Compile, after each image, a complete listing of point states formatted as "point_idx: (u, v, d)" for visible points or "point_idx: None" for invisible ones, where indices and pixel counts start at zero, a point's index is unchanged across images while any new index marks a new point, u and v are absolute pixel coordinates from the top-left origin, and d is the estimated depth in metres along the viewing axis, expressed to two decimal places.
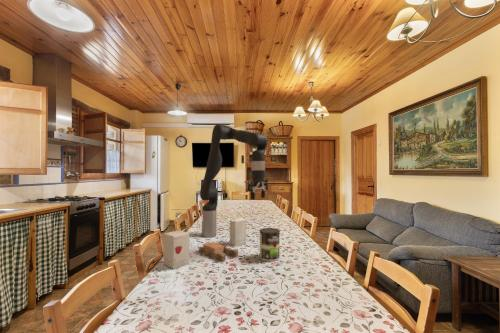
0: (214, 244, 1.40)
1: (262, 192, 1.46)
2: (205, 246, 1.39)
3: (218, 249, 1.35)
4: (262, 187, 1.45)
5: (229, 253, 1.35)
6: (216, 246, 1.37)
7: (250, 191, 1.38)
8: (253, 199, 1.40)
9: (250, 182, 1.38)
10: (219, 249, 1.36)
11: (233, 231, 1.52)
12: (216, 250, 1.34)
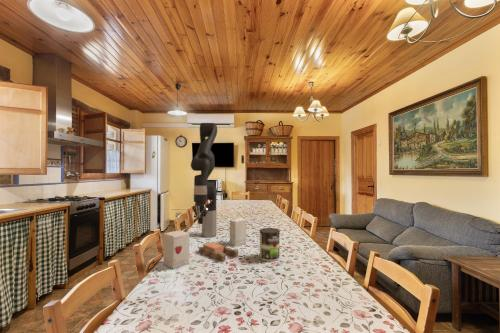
0: (214, 244, 1.40)
1: None
2: (205, 246, 1.39)
3: (218, 249, 1.35)
4: None
5: (229, 253, 1.35)
6: (216, 246, 1.37)
7: (204, 216, 1.46)
8: (202, 223, 1.48)
9: (207, 210, 1.44)
10: (219, 249, 1.36)
11: (233, 231, 1.52)
12: (216, 250, 1.34)
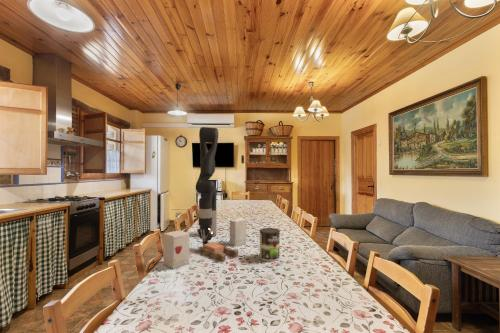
0: (214, 244, 1.40)
1: None
2: (205, 246, 1.39)
3: (218, 249, 1.35)
4: None
5: (229, 253, 1.35)
6: (216, 246, 1.37)
7: None
8: None
9: (212, 234, 1.41)
10: (219, 249, 1.36)
11: (233, 231, 1.52)
12: (216, 250, 1.34)
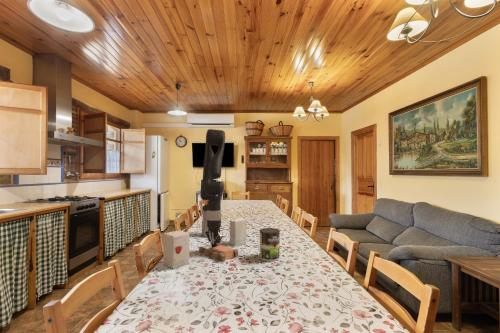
0: (223, 247, 1.35)
1: None
2: (214, 249, 1.34)
3: (228, 252, 1.30)
4: None
5: None
6: (226, 249, 1.31)
7: None
8: None
9: (221, 237, 1.35)
10: (229, 252, 1.30)
11: (233, 231, 1.52)
12: (226, 254, 1.29)
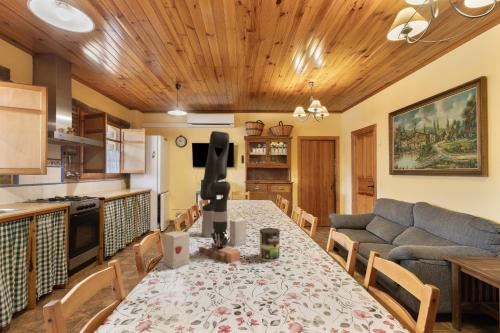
0: (230, 249, 1.31)
1: None
2: (220, 252, 1.30)
3: (234, 255, 1.26)
4: None
5: None
6: (232, 252, 1.28)
7: None
8: None
9: (228, 239, 1.32)
10: (235, 255, 1.27)
11: (233, 231, 1.52)
12: (233, 256, 1.25)
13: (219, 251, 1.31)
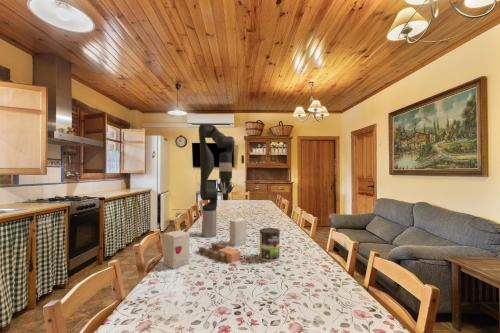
0: (230, 249, 1.31)
1: None
2: (220, 252, 1.30)
3: (235, 255, 1.26)
4: None
5: None
6: (233, 252, 1.28)
7: (229, 192, 1.49)
8: None
9: (232, 187, 1.47)
10: (235, 255, 1.27)
11: (233, 231, 1.52)
12: (233, 256, 1.25)
13: (219, 251, 1.31)
